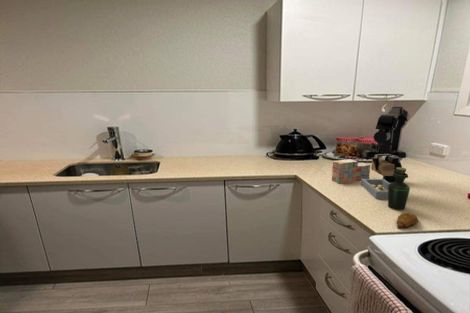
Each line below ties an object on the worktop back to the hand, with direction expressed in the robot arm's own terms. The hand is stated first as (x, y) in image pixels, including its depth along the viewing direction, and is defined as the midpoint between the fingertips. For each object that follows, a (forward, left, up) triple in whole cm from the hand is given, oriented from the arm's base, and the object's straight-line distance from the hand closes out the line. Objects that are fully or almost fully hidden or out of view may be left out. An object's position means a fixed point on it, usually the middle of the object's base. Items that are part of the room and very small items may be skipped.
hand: (382, 170), depth 132 cm
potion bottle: (+1, +20, -12) cm, 23 cm away
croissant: (+4, +36, -12) cm, 38 cm away
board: (0, 0, -1) cm, 1 cm away
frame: (0, 0, -11) cm, 11 cm away
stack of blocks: (+9, -18, -12) cm, 24 cm away
